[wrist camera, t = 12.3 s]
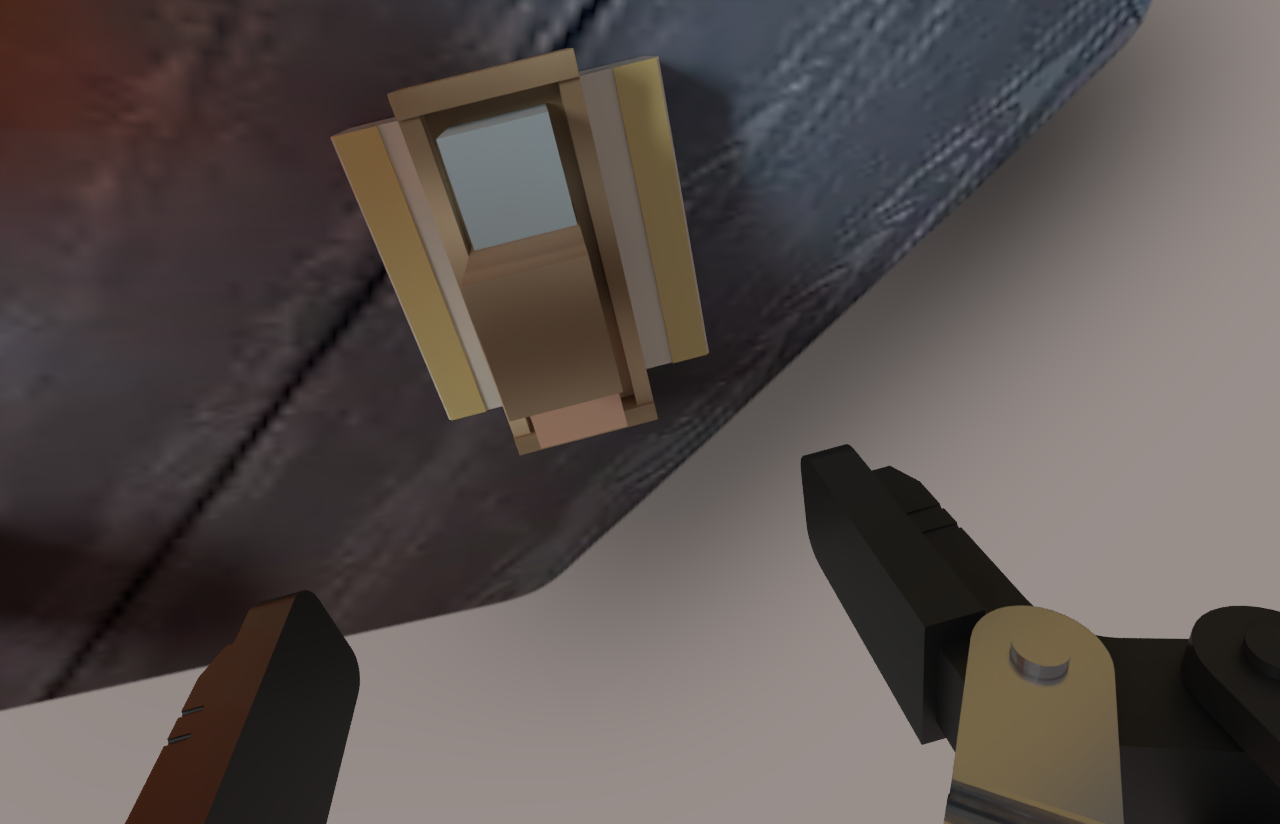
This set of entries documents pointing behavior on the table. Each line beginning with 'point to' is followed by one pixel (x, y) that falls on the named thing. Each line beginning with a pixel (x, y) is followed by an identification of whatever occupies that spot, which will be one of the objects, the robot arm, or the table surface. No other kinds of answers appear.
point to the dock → (640, 209)
